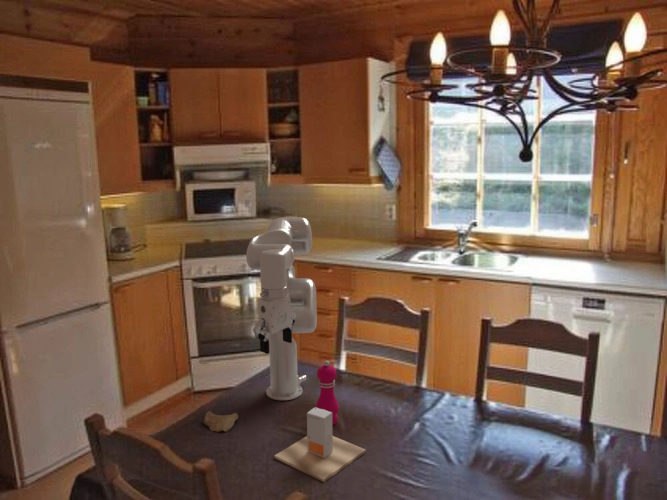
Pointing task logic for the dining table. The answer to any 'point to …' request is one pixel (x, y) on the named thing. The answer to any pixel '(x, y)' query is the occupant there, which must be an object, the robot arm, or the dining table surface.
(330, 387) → the pepper mill
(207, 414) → the pottery shard
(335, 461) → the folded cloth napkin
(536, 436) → the dining table surface
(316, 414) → the skincare box
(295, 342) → the robot arm
